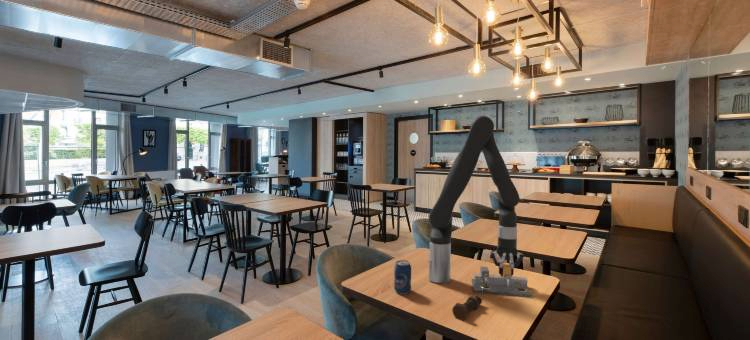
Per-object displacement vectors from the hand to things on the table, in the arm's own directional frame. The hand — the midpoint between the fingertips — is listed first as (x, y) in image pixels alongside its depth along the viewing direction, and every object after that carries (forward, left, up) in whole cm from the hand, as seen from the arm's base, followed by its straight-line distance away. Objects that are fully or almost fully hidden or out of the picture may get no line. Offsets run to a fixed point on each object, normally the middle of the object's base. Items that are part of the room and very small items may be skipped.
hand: (505, 275), depth 144 cm
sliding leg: (0, -1, -3) cm, 3 cm away
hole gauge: (-3, -3, -5) cm, 6 cm away
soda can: (-43, -13, -5) cm, 45 cm away
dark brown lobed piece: (-17, -25, -5) cm, 31 cm away
